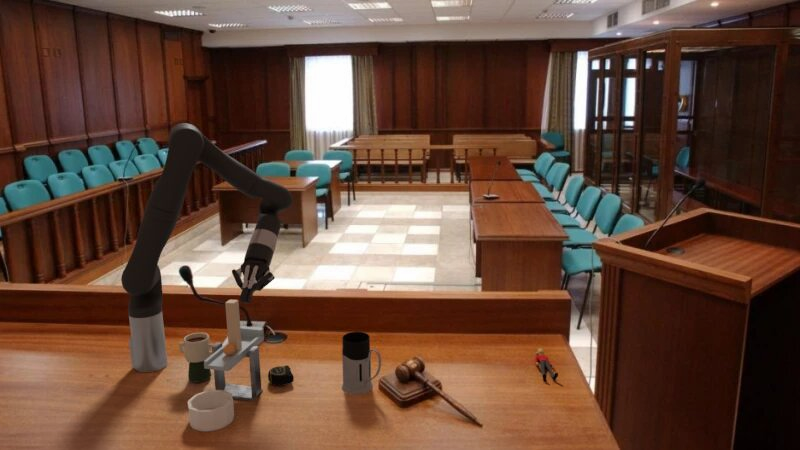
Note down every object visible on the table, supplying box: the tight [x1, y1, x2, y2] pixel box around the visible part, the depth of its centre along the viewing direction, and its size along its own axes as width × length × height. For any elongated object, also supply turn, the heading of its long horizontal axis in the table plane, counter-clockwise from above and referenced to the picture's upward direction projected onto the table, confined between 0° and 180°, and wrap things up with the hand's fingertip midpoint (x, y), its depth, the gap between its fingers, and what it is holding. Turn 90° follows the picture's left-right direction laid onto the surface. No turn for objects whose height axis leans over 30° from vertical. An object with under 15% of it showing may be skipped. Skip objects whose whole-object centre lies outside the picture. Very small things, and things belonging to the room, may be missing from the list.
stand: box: [211, 341, 264, 402], centre depth 173 cm, size 12×6×14 cm, turn 76°
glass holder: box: [341, 331, 382, 395], centre depth 175 cm, size 9×14×15 cm, turn 44°
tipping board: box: [204, 298, 265, 372], centre depth 170 cm, size 9×20×16 cm, turn 166°
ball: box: [223, 344, 235, 356], centre depth 169 cm, size 3×3×3 cm
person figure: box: [534, 347, 559, 382], centre depth 189 cm, size 5×4×18 cm
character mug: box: [178, 332, 215, 383], centre depth 182 cm, size 11×7×13 cm, turn 82°
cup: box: [187, 389, 235, 433], centre depth 161 cm, size 11×11×6 cm
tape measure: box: [267, 364, 295, 387], centre depth 181 cm, size 7×7×4 cm
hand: (244, 302), depth 176 cm, fingers closed
